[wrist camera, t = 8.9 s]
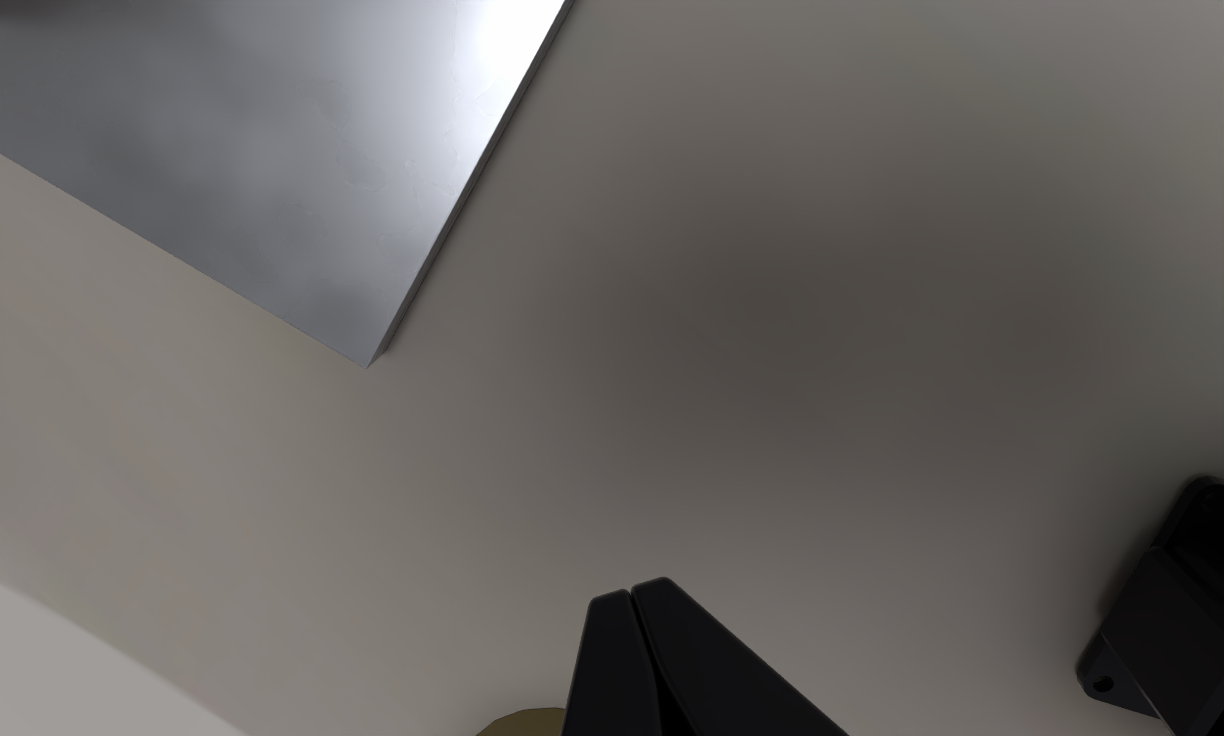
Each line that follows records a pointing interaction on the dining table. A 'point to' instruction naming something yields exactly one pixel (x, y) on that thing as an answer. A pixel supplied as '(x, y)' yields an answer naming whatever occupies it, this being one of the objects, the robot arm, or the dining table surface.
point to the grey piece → (275, 134)
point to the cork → (527, 723)
